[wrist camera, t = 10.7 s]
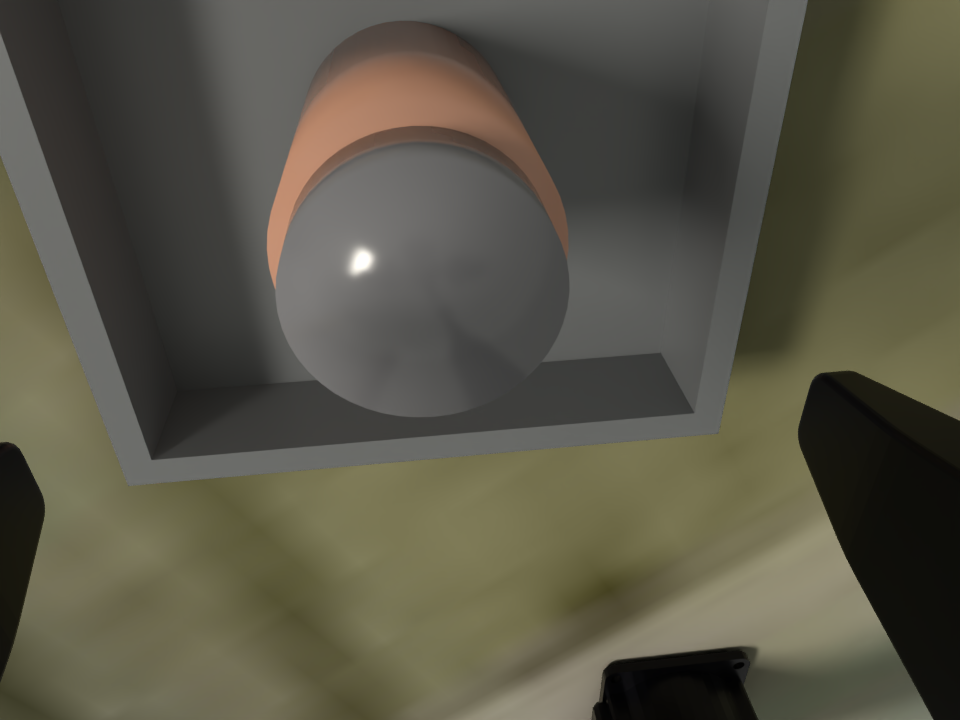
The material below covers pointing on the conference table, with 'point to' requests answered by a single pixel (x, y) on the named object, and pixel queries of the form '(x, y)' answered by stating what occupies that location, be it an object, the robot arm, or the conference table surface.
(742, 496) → the conference table surface
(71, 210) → the tray
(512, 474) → the conference table surface
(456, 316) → the shaker
